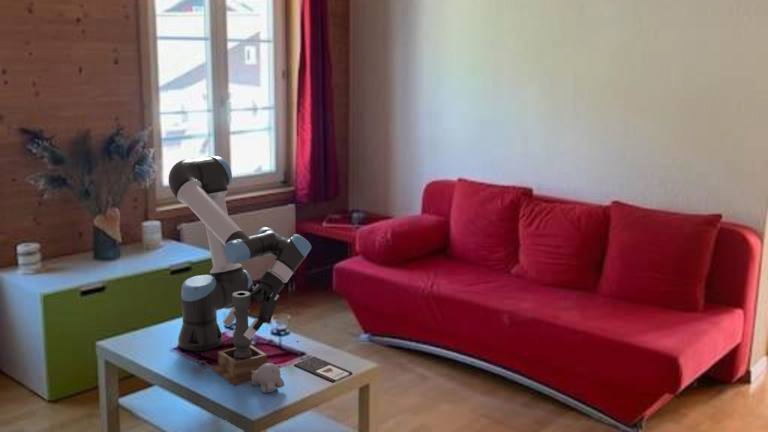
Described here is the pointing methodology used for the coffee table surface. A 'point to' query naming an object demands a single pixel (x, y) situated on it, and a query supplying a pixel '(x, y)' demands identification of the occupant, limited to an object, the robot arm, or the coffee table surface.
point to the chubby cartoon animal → (267, 377)
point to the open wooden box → (239, 365)
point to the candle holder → (241, 325)
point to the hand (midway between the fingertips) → (235, 331)
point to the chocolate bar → (323, 369)
